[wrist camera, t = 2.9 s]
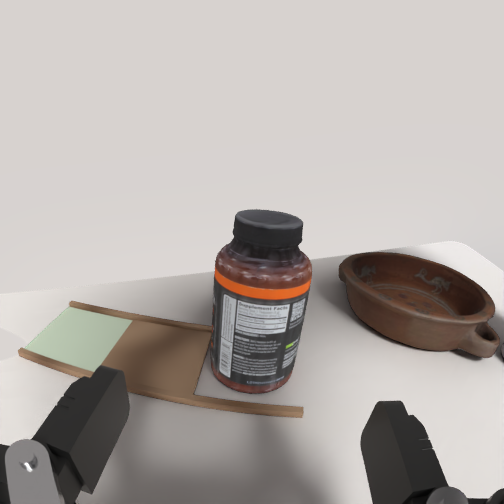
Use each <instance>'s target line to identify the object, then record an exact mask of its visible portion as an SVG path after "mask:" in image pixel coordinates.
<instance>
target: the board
mask: <svg viewBox="0 0 504 504" xmlns="http://www.w3.org/2000/svg"><path fill="white" fill-rule="evenodd" d="M69 305H70V307H68V308H67V309H66V310H64V311H63V312H62V313H61V314H60V315H59V316H58V317H57V318H56V319H55V320H54V321H53V322H51V323H50V324H49V325H48V326H47V327H46V328H45V329H44V330H43V331H42V332H41V333H40V334H39V335H38V336H37V337H36V338H35V339H34V340H33V341H31V342H30V343H29V344H28V345H27V346H26V347H25V348H20V349H19V350H18V353H19V356H21V357H23V358H26V359H28V360H31V361H33V362H36V363H38V364H41V365H44V366H46V367H49V368H52V369H55V370H58V371H61V372H63V373H66V374H69V375H72V376H75V377H79V378H82V377H83V376H86V377H89V378H90V377H91V376H92V375H93V373H94V372H95V370H96V369H97V368H98V367H99V366H100V365H103V366H107V367H111V368H114V369H118V370H122V371H123V372H124V375H125V380H126V386H127V391H128V392H132V393H136V394H140V395H144V396H148V397H153V398H157V399H162V400H167V401H172V402H177V403H182V404H188V405H193V406H199V407H205V408H212V409H219V410H226V411H233V412H241V413H250V414H260V415H270V416H283V417H299V418H302V416H303V413H304V412H303V407H293V406H280V405H268V404H258V403H249V402H240V401H232V400H225V399H218V398H211V397H204V396H198V395H194V392H195V389H196V386H197V382H198V379H199V376H200V373H201V369H202V366H203V363H204V360H205V356H206V353H207V350H208V347H209V343H210V340H211V337H212V326H206V325H199V324H192V323H186V322H180V321H173V320H167V319H161V318H156V317H150V316H144V315H139V314H133V313H128V312H123V311H118V310H113V309H108V308H103V307H98V306H93V305H89V304H84V303H80V302H75V301H71V302H70V303H69Z"/></svg>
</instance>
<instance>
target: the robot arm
mask: <svg viewBox="0 0 504 504" xmlns="http://www.w3.org/2000/svg"><path fill="white" fill-rule="evenodd" d="M501 351H502V355H503V357H504V343H503V345H502V350H501ZM129 409H130V404H129V398H128V392H127V386H126V380H125V375H124V372H123V371H122V370H118V369H114V368H111V367H107V366H103V365H100V366H99V367H98V368H97V369H96V370H95V372H94V373H93V375H92V376H91V377H90V378H89V377H86V376H83V377H82V378H80V379H78V380H77V381H75V382H74V383H72V384H71V385H70V387H69V388H68V389H67V391H66V392H65V393H64V396H63V397H62V398H61V399H60V400H59V402H58V403H57V406H55V407H54V409H53V410H52V411H51V413H50V414H49V415H48V417H47V418H46V420H45V421H44V423H43V424H42V425H41V427H40V428H39V430H38V431H37V433H36V434H35V435H34V437H33V438H32V439H31V440H29V439H24V440H19V441H16V442H15V443H13V444H12V445H11V446H7V445H2V444H0V504H79V503H78V500H77V497H78V494H79V492H80V490H82V491H84V492H87V493H90V494H92V493H93V491H94V489H95V487H96V485H97V483H98V480H99V478H100V476H101V474H102V472H103V469H104V467H105V465H106V463H107V461H108V459H109V457H110V455H111V452H112V450H113V448H114V446H115V444H116V442H117V440H118V438H119V436H120V434H121V431H122V429H123V427H124V425H125V423H126V421H127V419H128V415H129ZM428 438H429V437H428V435H427V433H426V430H425V428H424V426H423V424H422V423H421V422H420V421H419V420H418V419H417V418H416V417H415V416H414V415H408V413H407V411H406V409H405V406H404V404H403V403H402V402H401V401H379V402H377V404H376V405H375V407H374V409H373V412H372V414H371V416H370V418H369V420H368V422H367V424H366V426H365V428H364V430H363V432H362V435H361V451H362V455H363V460H364V464H365V469H366V473H367V478H368V483H369V487H370V492H371V497H372V502H373V504H504V488H503V489H500V490H498V491H497V492H495V493H494V494H493V495H492V496H491V497H490V498H489V499H476V498H466V496H465V495H464V493H462V492H461V491H460V490H458V489H456V488H453V487H449V486H448V484H447V481H446V479H445V476H444V474H443V471H442V469H441V466H440V464H439V461H438V459H437V456H436V454H435V451H434V450H433V449H432V444H431V442H430V440H428Z"/></svg>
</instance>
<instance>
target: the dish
mask: <svg viewBox="0 0 504 504" xmlns="http://www.w3.org/2000/svg"><path fill="white" fill-rule="evenodd" d="M339 278H340V279H341V280H342V281H343V282H344V283H345V284H346V287H347V295H348V300H349V303H350V306H351V308H352V309H353V311H354V312H355V313H356V314H357V316H358V317H359V318H360V319H361V320H362V321H364V322H365V323H366V324H367V325H369V326H370V327H372V328H373V329H375V330H376V331H378V332H380V333H381V334H383V335H385V336H387V337H389V338H391V339H393V340H396V341H399V342H401V343H404V344H407V345H410V346H413V347H417V348H421V349H426V350H436V351H448V350H453V349H458V348H459V349H463V350H464V351H466V352H468V353H471V354H473V355H476V356H479V357H483V358H489V357H492V356H493V354H494V353H495V351H496V349H497V347H498V346H499V343H500V338H499V337H498V335H497V333H496V332H495V331H494V330H493V329H492V328H491V327H490V326H489V325H488V323H487V321H488V320H489V319H490V318H492V317H493V315H494V312H495V304H494V302H493V300H492V298H491V297H490V296H489V294H488V293H487V292H486V291H485V290H484V289H483V288H482V287H481V286H480V285H478V284H477V283H476V282H474V281H473V280H471V279H470V278H468V277H467V276H465V275H463V274H462V273H460V272H458V271H456V270H454V269H452V268H450V267H447V266H445V265H442V264H439V263H436V262H433V261H429V260H426V259H422V258H419V257H415V256H410V255H405V254H399V253H386V252H368V253H360V254H355V255H352V256H349V257H348V258H346V259H345V260H344V261H343V262H342V263H341V264H340V265H339Z"/></svg>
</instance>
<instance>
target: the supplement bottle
mask: <svg viewBox="0 0 504 504" xmlns="http://www.w3.org/2000/svg"><path fill="white" fill-rule="evenodd" d="M302 229H303V222H302V220H301V219H299V218H298V217H296V216H293V215H290V214H287V213H283V212H276V211H269V210H244V211H240V212H238V213H237V214H236V216H235V222H234V229H233V235H234V238H233V240H232V241H231V243H229V244H227V245H226V246H224V247H223V248H222V249H221V251H220V252H219V253H218V255H217V257H216V261H215V262H216V263H215V275H214V295H213V319H212V342H211V366H212V370H213V372H214V375H215V376H216V377H217V378H218V379H219V380H220V381H221V382H222V383H223V384H225V385H226V386H228V387H230V388H231V389H234V390H236V391H240V392H245V393H251V394H252V393H266V392H270V391H273V390H275V389H278V388H279V387H281V386H282V385H284V384H285V383H286V382H287V381H288V379H289V378H290V376H291V373H292V370H293V367H294V363H295V358H296V354H297V349H298V344H299V340H300V335H301V330H302V325H303V320H304V315H305V310H306V305H307V300H308V294H309V289H310V283H311V277H312V265H311V262H310V260H309V258H308V257H307V256H306V255H305V254H304V253H303V252H302V251H300V249H299V247H298V245H299V244H300V243H301V242H302Z"/></svg>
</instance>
